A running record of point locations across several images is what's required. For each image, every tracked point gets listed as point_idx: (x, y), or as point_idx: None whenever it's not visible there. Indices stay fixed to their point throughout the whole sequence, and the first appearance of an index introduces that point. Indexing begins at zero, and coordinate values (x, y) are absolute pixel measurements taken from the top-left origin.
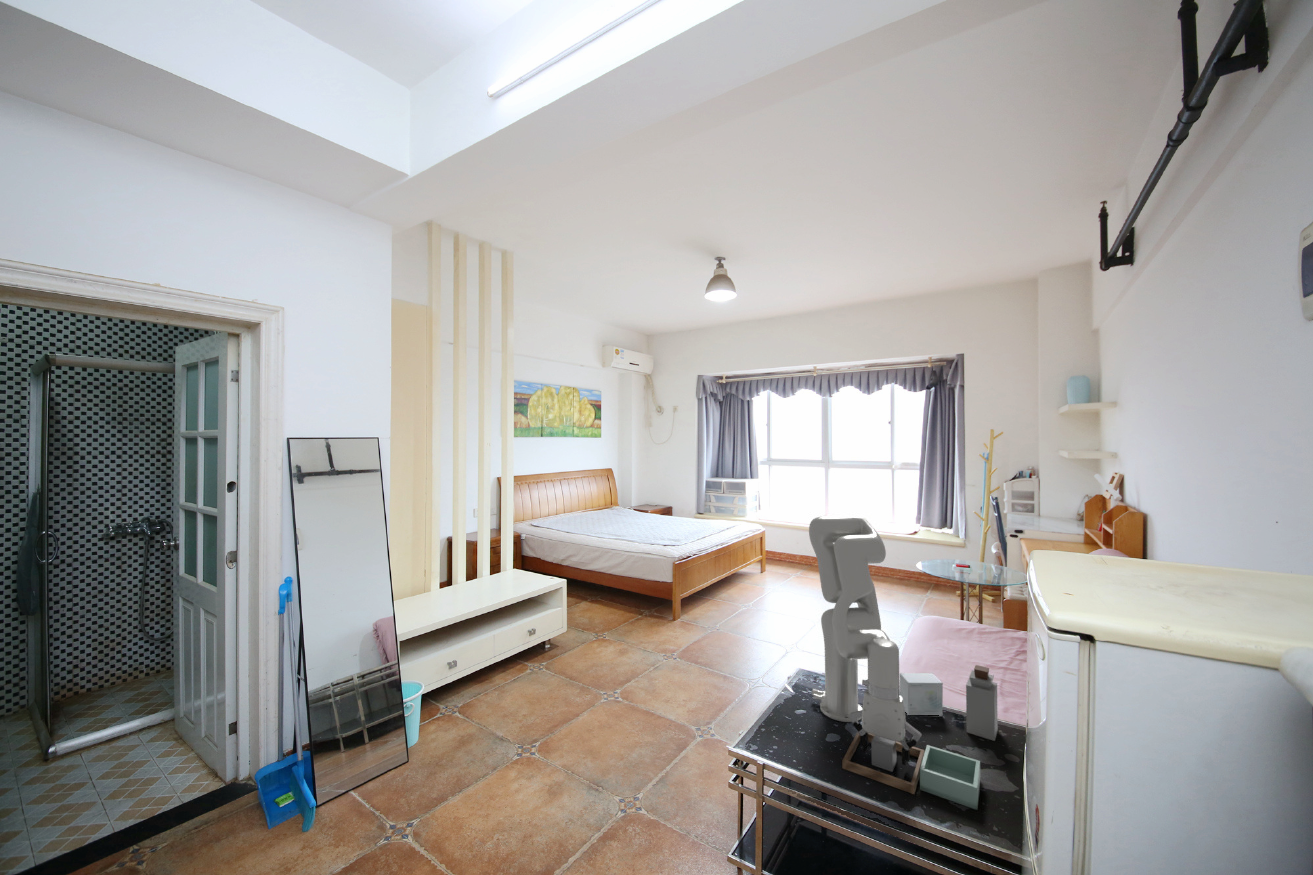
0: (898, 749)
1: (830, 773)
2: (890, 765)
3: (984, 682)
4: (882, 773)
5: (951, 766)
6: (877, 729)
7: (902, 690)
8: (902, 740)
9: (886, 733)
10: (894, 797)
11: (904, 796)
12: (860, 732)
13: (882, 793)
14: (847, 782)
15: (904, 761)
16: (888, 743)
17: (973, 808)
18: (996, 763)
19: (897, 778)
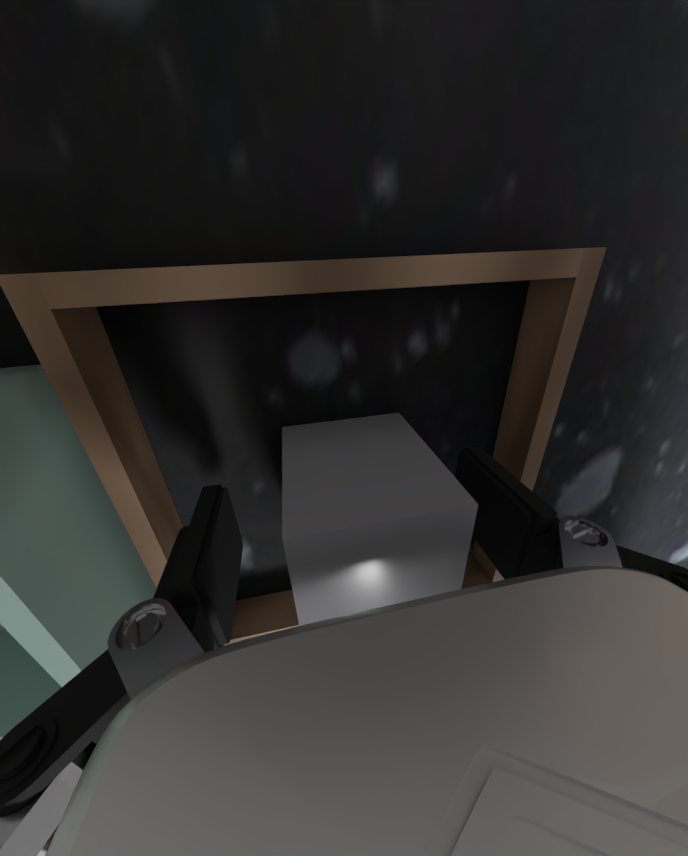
0: None
1: (637, 118)
2: (295, 442)
3: None
4: (302, 279)
5: (4, 647)
6: (546, 698)
7: None
8: (111, 722)
9: (379, 709)
10: (142, 102)
11: (90, 186)
12: (595, 540)
13: (247, 96)
14: (522, 68)
15: (200, 503)
16: (338, 575)
17: None
18: None
19: (174, 293)
